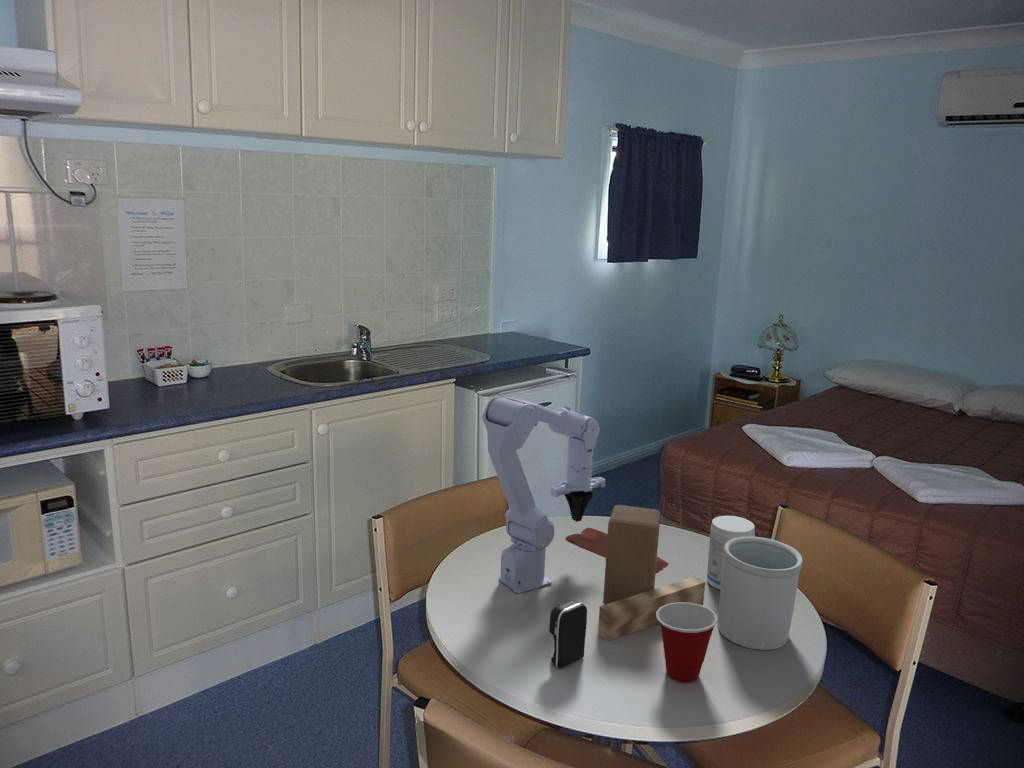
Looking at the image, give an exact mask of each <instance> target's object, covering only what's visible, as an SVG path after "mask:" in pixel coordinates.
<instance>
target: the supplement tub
mask: <svg viewBox="0 0 1024 768" xmlns="http://www.w3.org/2000/svg"><path fill="white" fill-rule="evenodd" d="M755 527H756V526H755V524H754V522H752V521H751V520H748V519H747V518H744V517H739V516H735V515H719V516H716V517H713V519H712V521H711V526H710V532H709V533H710V534H709V545H708V546H709V547H708V558H707V568H706V569H707V572H706V579H707V580H706V581H707V582H708V584H709V585H710V586H712V587H713V588H715V589H717V590H719V591H721V584H722V574H723V566H724V558H725V555H724V547H725V544H726V543H727V542H728V541H729V540H731V539H734V538H737V537H756V531H755Z"/></svg>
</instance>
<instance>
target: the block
mask: <svg viewBox="0 0 1024 768" xmlns="http://www.w3.org/2000/svg"><path fill="white" fill-rule="evenodd" d="M660 522H661V512H660V511H659V510H658V509H656V508H655V509H654V508H653V509H652V508H646V507H640V506H639V507H638V506H632V505H631V506H630V505H624V504H616V505H614V507H613V509H612V512H611V514H610V518H609V520H608V522H607V534H608V536H607V551H606V557H605V565H604V567H605V569H604V583H603V599H602V600H603V601H602V603H603V605H605V604H609V603H612V602H615V601H618V600H621V599H624V598H628V597H631V596H634V595H637V594H640V593H643V592H646V591H650V590H653V589H655V583H656V562H657V557H658V548H659V536H660V525H661V524H660Z"/></svg>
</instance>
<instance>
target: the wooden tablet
mask: <svg viewBox="0 0 1024 768" xmlns="http://www.w3.org/2000/svg"><path fill="white" fill-rule="evenodd" d="M607 536H608V533H606V532H603V531H601V530H599V529H596V528H592V527H586V528H584V529H583V530H582V531H581V533H572V534H568V535H567V536H566V537H565V540H567V541H568V542H571V543H572V544H575V545H577V546H578V547H581V548H583V549H585V550H587V551H590V552H592V553H595V554H597V555H600V556H602V557H604V558H606V551H607ZM668 565H669V562H668V561H666V560H664V559H662V558H661V557H660V556H657V562H656V573H659V572H661V570H662V571H664V569H665V568H667V567H668Z"/></svg>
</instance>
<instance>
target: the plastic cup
mask: <svg viewBox="0 0 1024 768" xmlns="http://www.w3.org/2000/svg"><path fill="white" fill-rule="evenodd" d="M656 616H657V620H658V621H659V623H658V624H659V627H660V630H661V636H662V637H661V638H662V644H663V653H664V661H665V670H666V674H667V675H668V677H669V678H671V679H672V680H674V681H676V682H678V683H686V684H687V683H693V682H695V681H697V680H698V677H699V676H700V673H701V670H702V666H703V663H704V662H705V658H706V654H707V651H708V647H709V643H710V639H711V637H712V633H713V631H714V628H715V626H716V624H718V615H717V613H715V612H714V611H713V610H712V609H711V608H709V607H706V606H704V605H703V606H702V605H699V604H694V603H686V602H676V603H671V604H666V605H664V606H662V607H660V608H659V609H658V610H657V612H656Z"/></svg>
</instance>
